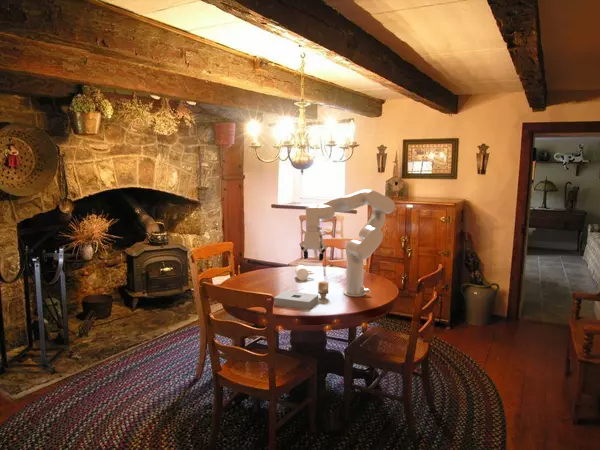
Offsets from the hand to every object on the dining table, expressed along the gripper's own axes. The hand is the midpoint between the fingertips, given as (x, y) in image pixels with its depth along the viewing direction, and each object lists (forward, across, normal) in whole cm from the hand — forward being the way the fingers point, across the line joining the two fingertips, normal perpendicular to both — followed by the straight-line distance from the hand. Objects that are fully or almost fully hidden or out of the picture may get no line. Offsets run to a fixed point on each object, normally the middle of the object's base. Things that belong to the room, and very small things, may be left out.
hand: (313, 259), depth 240 cm
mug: (+23, +28, -35) cm, 51 cm away
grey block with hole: (+22, +4, +13) cm, 26 cm away
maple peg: (+22, -4, -3) cm, 23 cm away
